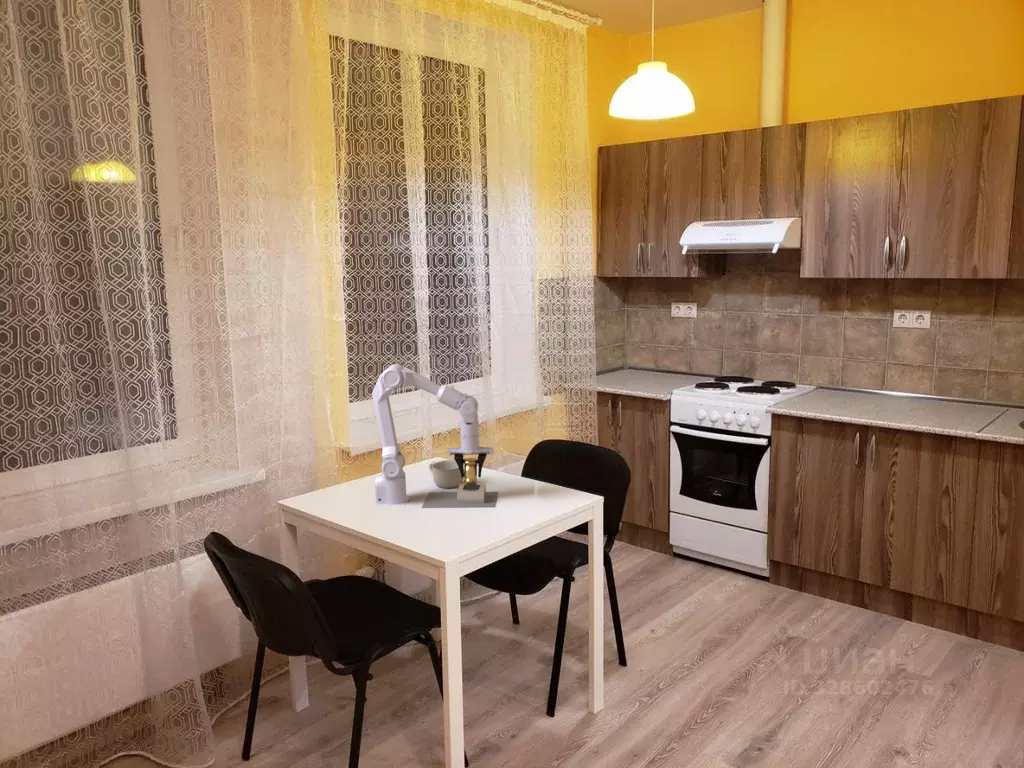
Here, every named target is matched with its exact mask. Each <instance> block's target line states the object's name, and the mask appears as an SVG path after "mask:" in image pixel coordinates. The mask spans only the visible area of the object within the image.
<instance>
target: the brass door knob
mask: <svg viewBox="0 0 1024 768" xmlns="http://www.w3.org/2000/svg"><path fill="white" fill-rule="evenodd" d="M463 463H464V480H463V484H464V485H465V486H476V485H477V482H478V481H477V480H478V458H475V457H466V458H463Z"/></svg>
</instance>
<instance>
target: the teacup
mask: <svg viewBox="0 0 1024 768" xmlns="http://www.w3.org/2000/svg"><path fill="white" fill-rule="evenodd" d="M428 465H429V466H428V469H429V471H430V472H431V474H432V478H433V482H434V484H435V485H436V486H437V487H438V488H442V489H453V488H458V487H459V484H463V483H464V478H461V473H460V470H459V467H458V465H457V463H456V461H455V459H444V460H439V461H432V462H431V461H430V463H429V464H428ZM463 466H464V463H463Z"/></svg>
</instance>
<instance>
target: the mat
mask: <svg viewBox="0 0 1024 768" xmlns="http://www.w3.org/2000/svg"><path fill="white" fill-rule="evenodd" d="M498 496H499V491H486V497H485V501H484V503H481V504H457V491H437V492H436V491H431V492H430V491H429V492H428V493H427V496H426V498H425V500H424V502H423V503H422V506H421V509H454V508H455V509H461V508H463V509H468V508H470V509H471V508H473V509H474V508H476V509H477V508H496V507H497V501H498Z"/></svg>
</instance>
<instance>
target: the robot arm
mask: <svg viewBox="0 0 1024 768" xmlns="http://www.w3.org/2000/svg"><path fill="white" fill-rule="evenodd" d="M401 384H402V387H407V386H415V387H416V388H419V389H421V390H423V391H425V392H426V393H430V394H432V395H434V396H435V397H436V399H437V402H439V403H441V404H443V405H444V406H447V407H448V408H451V409H453V410H454V411H458V413H459V414H460V421H459V423H460V424H459V425H460V446H459V447H450V448H449V447H448V448H447V450H446V454H447V455H446V456H454V458H453V460H455V461H456V463H457V465H458V467H459V470H460V473H461V478H464V466H463V459H464V456H466V455H469V456H473V455H474V456H475V455H477V459H478V464H477V479H478V478H481V477H482V470H483V466H484V463H485V460H486V458H487V455H489V456H493V455H494V447H490V446H489V447H488V446H487V447H486V446H480V430H479V429H480V427H479V420H478V419H479V415H478V411H479V401H478V400H477V399H476V398H475V397H474V396H473V395H469V394H468V393H466V392H464V393H463V392H461V391H459V390H457V389H455V386H454V385H453V384H450V385H448V384H446V385H439V384H438V383H435V382H433V381H432V380H430V379H428V378H427V377H425V376H423V375H422V374H420V373H418V372H416V371H414V370H412V369H411V368H408V367H404V366H403V365H401V364H398V363H395V364H394V363H393V364H391V365H389V366H388V367H387V368H386V369H384V371H383V372H381V374H380V375H379V376H378V379H377V381H376V384H375V386H374V388H373V391H372V393H371V395H372V400H373V407H374V411H375V417H376V421H377V426H378V427H377V428H378V433H379V437H380V444H381V448H382V449H381V450H382V452H381V459H382V464H381V466H380V467H381V472H382V475H378V476H376V478H375V488H374V489H375V503H376V504H375V506H406V505H407V503H408V501H409V499H410V496H407V485H406V484H407V481H406V480H407V479H406V471H404V469H403V468H404V466H405V464H406V459H405V456H404V455H403V454H402V452H401V447H400V445H399V444H398V439H397V433H396V429H395V423H394V418H393V411H392V407H391V402H390V395H391V393H392V392H393V391H394V390H395V389H396V388H398V387H399V386H400V385H401Z"/></svg>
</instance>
